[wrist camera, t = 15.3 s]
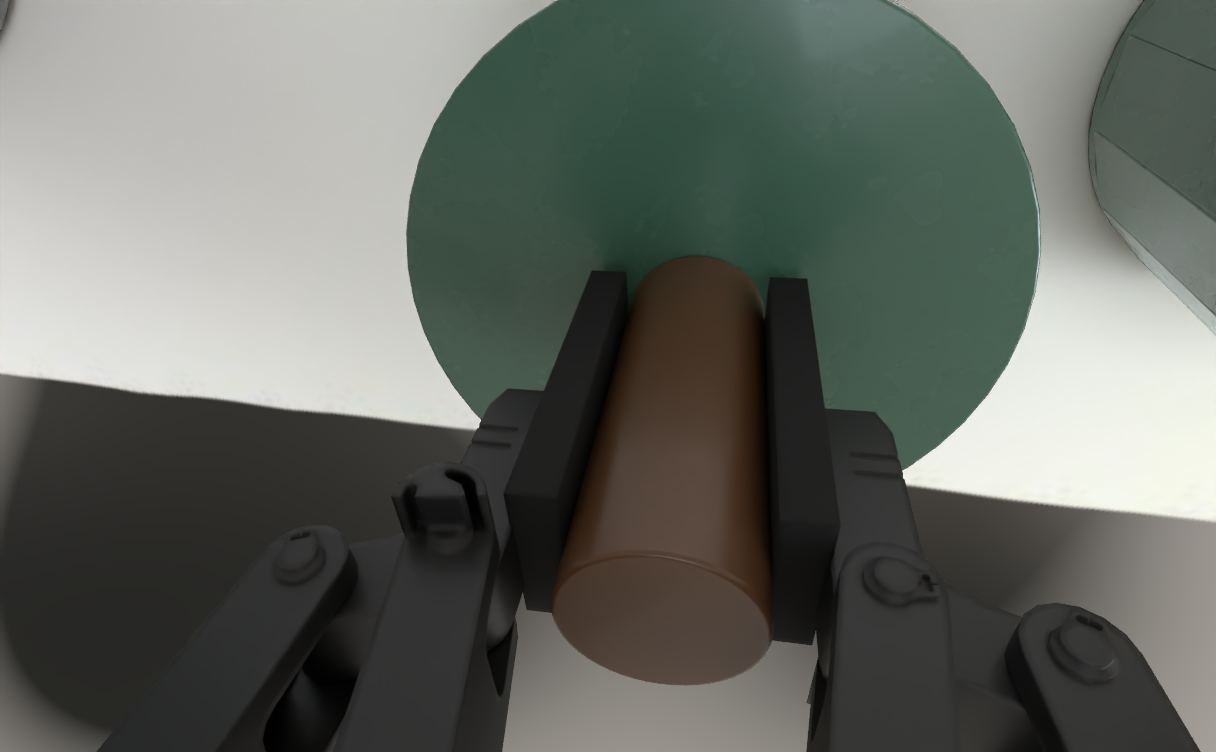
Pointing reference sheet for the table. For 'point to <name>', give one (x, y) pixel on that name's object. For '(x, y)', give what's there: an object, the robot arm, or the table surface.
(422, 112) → the table surface
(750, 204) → the lid
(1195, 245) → the tin
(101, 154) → the table surface
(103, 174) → the table surface
